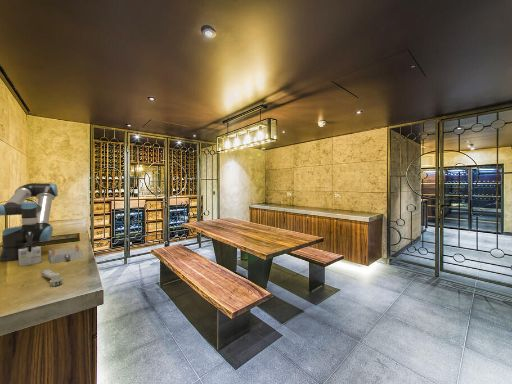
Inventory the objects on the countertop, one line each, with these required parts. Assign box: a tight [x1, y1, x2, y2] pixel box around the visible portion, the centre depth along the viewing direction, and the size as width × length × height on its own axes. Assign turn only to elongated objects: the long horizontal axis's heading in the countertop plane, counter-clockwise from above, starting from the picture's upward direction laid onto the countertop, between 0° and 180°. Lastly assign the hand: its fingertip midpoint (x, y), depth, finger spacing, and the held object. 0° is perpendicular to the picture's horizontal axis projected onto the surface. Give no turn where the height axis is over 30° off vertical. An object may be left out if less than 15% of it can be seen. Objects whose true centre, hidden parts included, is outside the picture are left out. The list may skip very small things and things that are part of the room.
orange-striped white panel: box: [47, 243, 84, 264], centre depth 169 cm, size 23×18×8 cm
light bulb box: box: [18, 245, 42, 267], centre depth 157 cm, size 11×7×11 cm, turn 144°
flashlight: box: [41, 268, 64, 287], centre depth 129 cm, size 5×7×25 cm
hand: (29, 254), depth 156 cm, fingers open, 13 cm apart
